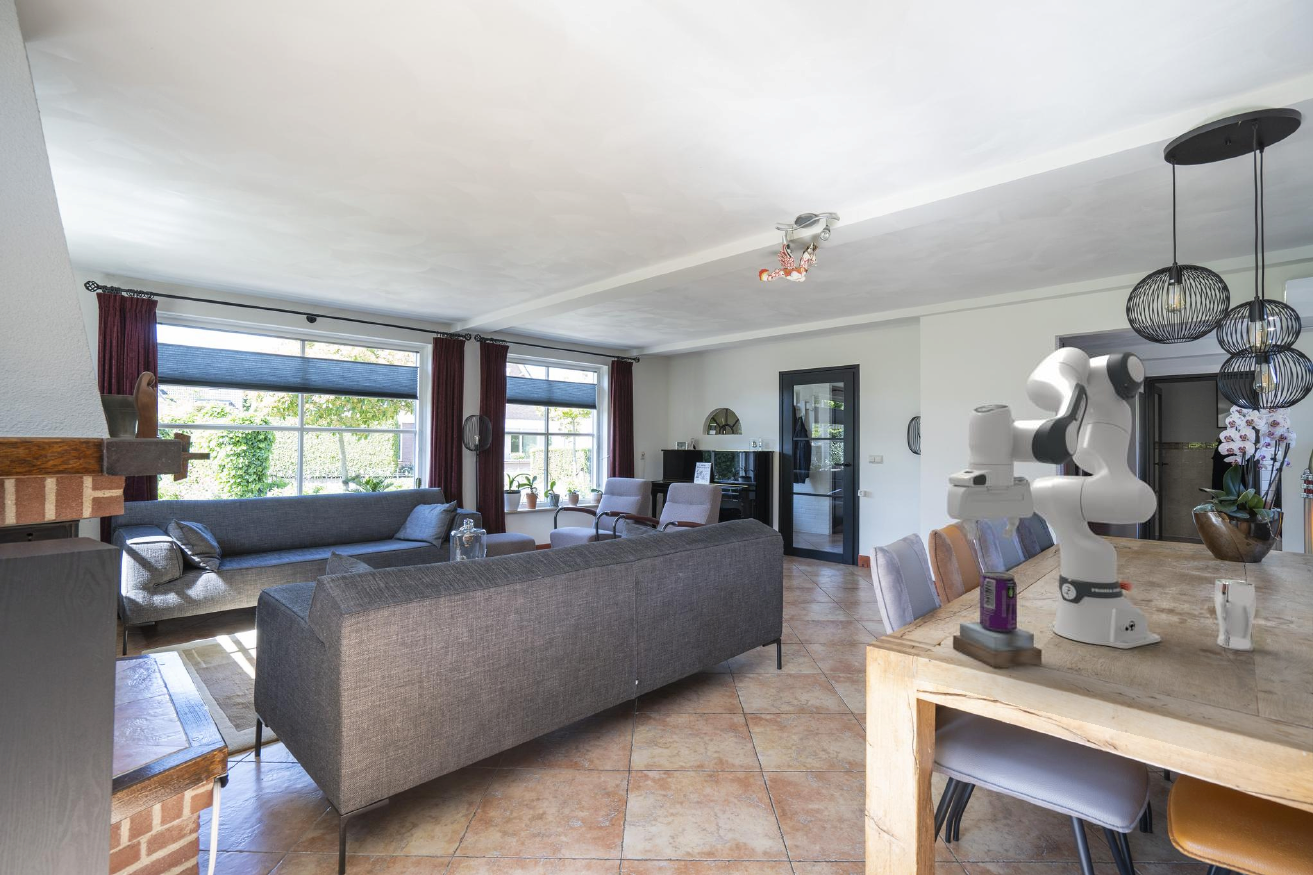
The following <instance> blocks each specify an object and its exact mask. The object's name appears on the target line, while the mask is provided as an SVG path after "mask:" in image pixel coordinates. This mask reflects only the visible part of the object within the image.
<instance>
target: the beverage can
mask: <svg viewBox="0 0 1313 875" xmlns="http://www.w3.org/2000/svg"><path fill="white" fill-rule="evenodd" d="M981 574H982V576H981V578H980V580H979V622H980V624H981V625H982V626H984V627H985V628H987V629H989V630H992V631H996V632H1010V631H1013V630H1015V629H1017V628H1018V584H1017V582H1016V580H1015V575H1014V574H1011V573H1008V572H1002V571H983V572H982V573H981Z"/></svg>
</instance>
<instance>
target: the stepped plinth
mask: <svg viewBox="0 0 1313 875" xmlns="http://www.w3.org/2000/svg"><path fill="white" fill-rule="evenodd" d="M1034 641H1035V634H1034V633H1031V632H1029V631H1026V630H1023V629H1021V628H1018V627H1017V629H1015V630H1013V631H1010V632H996V631H992V630H989V629H987V628H985V627H984V626H982V625H981V624H980V621H974V622H960V623H959V634H954V635H952V649H953V650H955V651H957V652H960V653H962V654H963V655H966V656H968V657H970V658H972V659H974V660H977V661H978V662H981V663H982V664H984V665H987V666H989V667H991V668H993V669H997V668H1008V667H1009V668H1010V667H1019V666H1020V667H1021V666H1031V665H1040V664H1041V665H1042V663H1043V661H1042V658H1043V657H1042V656H1043V652H1042V651H1043V650H1042V649H1041V648H1039V647H1036V646H1035V642H1034Z"/></svg>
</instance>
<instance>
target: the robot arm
mask: <svg viewBox="0 0 1313 875" xmlns="http://www.w3.org/2000/svg"><path fill="white" fill-rule="evenodd" d="M1145 379H1146V369H1145V366H1144V363H1143V361H1142V360H1141V358H1140V357H1139V356H1137V355H1136V354H1135V353H1133V352H1132V351H1131V352H1130V351H1117V352H1112V353H1110V354H1106V355H1100V356H1096V357H1092V358H1090V357H1089V355H1088V354H1087V353H1086V352H1084V351H1083V350H1082V349H1079V348H1077V347H1071V346H1070V347H1069V346H1067V347H1061V348H1058V349H1056V350H1054V351H1053V352H1052V353H1050V354H1049V355H1047V357H1046V358H1044V359H1043V360H1042V361H1041V362H1040V363H1039V364H1038V366H1037V367H1036V368H1035V369H1034V370H1033V372H1032V373H1031V374H1030V376H1029V377H1028V379H1027V382H1026V386H1025V391H1026V395H1027V397H1028V399H1029V400H1030V401H1031V402H1032V403H1033V405H1035V406H1036V407H1038V408H1039V409H1040V410H1044V411H1045V412H1046V411H1047V412H1053V413H1057V415H1056V416H1055V417H1051V418H1045V419H1024V420H1023V419H1021V420H1020V419H1017V418H1014V417H1012V411H1011V408H1010V406H1009V405H1006V404H990V405H983V406H982V405H981V406H977V407H976V408H974V409H973V410H972V411H971V414H970V418H969V419H970V420H969V425H968V426H969V427H968V447H969V451H970V456H969V460H968V468H964V469H963V470H961V471H957V472H956V473H953V474H950V475H949V477H948V483H949V484H950V485H951V486H950V487H949V488H948V492H947V502H946V508H947V510H946V513H947V514H948V516H949V517H950V519H954V520H957V521H962V524H963V527H964V528H965V530H966V531H967V540H971V541H972V540H973V541H976V540H979V539H980V536H979V535H980V532H979V531H976V529H975V526H974V525H976V520H995V519H996V520H997V519H1006V523H1007V526H1006V528H1005V529H1002V537H1003V538H1005V539H1014V538H1015V531H1016V530H1017V527H1018V525H1020V519H1021V518H1022V519H1023V518H1026V519H1027V518H1032V516H1033V514H1034V512H1035V514H1037V515H1039V517H1041V518H1042V519H1043V520H1045V521H1046V522H1047V524H1049V526H1050V528H1051V529H1052V531H1053V532H1054V535H1055V536H1056V539H1057V541H1058V546H1059V554H1060V556H1059V557H1060V574H1059V576H1058V580H1057V582H1058V589H1059V592H1060V593H1059V594H1058V596H1057V604H1056V612H1055V613H1056V614H1055V620H1053V621H1052V626H1053V628H1052V631H1053V632H1054V633H1056V635H1059V636H1062V637H1064V638H1067V639H1070V640H1074V641H1078V642H1082V643H1087V644H1092V645H1093V644H1094V645H1100V646H1101V645H1102V646H1108V647H1109V646H1110V647H1114V648H1119V649H1126V650H1127V649H1131V648H1136V647H1140V646H1144V645H1149V644H1154V643H1159V642H1161V636H1159V635H1157V634H1156V633H1153V632H1151V631H1148V621H1147V617H1146V615H1145V614H1144V612H1143V611H1142V610H1140V609H1139V608H1138V607H1137V606H1136V605H1134V604H1133V603H1132V602H1130V601H1129V600H1128V599H1126V597H1124V593H1123V590H1124V591H1126V592H1130V591H1131V590H1132V589H1133V586H1132V584H1131V582H1128V581H1127V582H1125V581H1123V580H1122V581H1119V580H1117V577H1118V573H1117V572H1118V568H1117V565H1118V563H1117V561H1118V560H1117V559H1118V558H1117V557H1118V555H1117V551H1116V549H1115V547H1114V546H1113V545H1112V544H1111V543H1110V542H1109V541H1108V540H1106V539H1105V538H1102V537H1101V536H1098V535H1096V534H1095V533H1094V532H1093V531H1092V530H1091V529H1090V527H1089V524H1088V522H1092V523H1104V524H1114V525H1115V524H1116V525H1128V524H1142V523H1143V524H1144V523H1146V522H1147V521H1148V520H1150V519H1151V518H1152V516H1153V515H1154V513H1155V511H1156V509H1157V502H1158V501H1157V496H1156V494H1155V491H1154V490H1153V489H1152V488H1151V487H1150V486H1149V484H1147V483H1146V482H1144V481H1143V480H1141V479H1140V478H1138V477H1137V476H1136V475H1135V474H1133V473H1132V471H1131V470H1130V468H1129V464H1128V453H1129V452H1128V451H1129V445H1130V441H1131V437H1132V436H1131V434H1132V423H1133V422H1132V420H1133V418H1132V410H1131V407H1130V406H1129V404H1128V403H1127V402H1129V401H1131V400H1133V399H1134V398H1135V397H1136V396H1137V394H1138V392H1139V390H1141V388H1142V387H1143V384H1144V382H1145ZM1071 458H1072V460H1073V461H1074V463H1075V464H1076V466H1078V467H1079V468H1081V469H1082V470H1083V471H1084V472H1086V473H1089V474H1091V476H1090V475H1089V476H1083V475H1082V476H1079V475H1060V474H1059V475H1050V476H1044V477H1038V478H1036V479H1035V480H1034V481H1033V482H1032V483H1031V482H1030V481H1029V479H1027V478H1026V477H1024V476H1015V473H1014V472H1015V470H1014V469H1015V468H1014V467H1015V466H1014V465H1015V464H1014V462H1016V463H1040V464H1048V465H1057V466H1059V465H1063V464H1065V463H1067V462H1068V461H1070V460H1071Z"/></svg>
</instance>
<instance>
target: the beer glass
mask: <svg viewBox="0 0 1313 875" xmlns="http://www.w3.org/2000/svg"><path fill="white" fill-rule="evenodd" d="M1213 592H1214V594H1213V602H1214V607H1215V608H1214V609H1215V613H1216V618H1217V622H1218V623H1217V624H1218V636H1217V640H1216V644H1217V645H1218V646H1220V647H1222V648H1225V649H1230V650H1236V651H1243V652H1251V651H1252V652H1253V650H1254V646H1253V643H1252V642H1253V641H1252V636H1251V634H1252V627H1253V622H1254V618H1255V613H1256V608H1257V607H1256V606H1257V598H1256V589H1255V584H1254V583H1252V582H1249V581H1245V580H1238V579H1230V578H1228V579H1227V578H1217V579H1215V581H1214V591H1213Z"/></svg>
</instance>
